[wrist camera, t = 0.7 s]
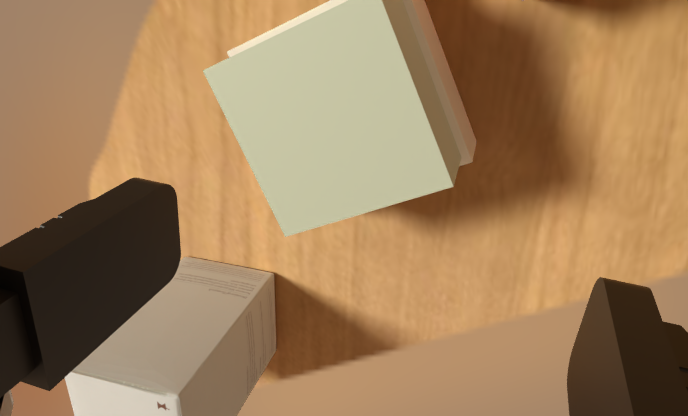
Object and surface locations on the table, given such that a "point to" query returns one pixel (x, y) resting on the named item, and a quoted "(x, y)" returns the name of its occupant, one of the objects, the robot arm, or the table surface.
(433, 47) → the tower base
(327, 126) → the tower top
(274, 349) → the supplement box
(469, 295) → the table surface
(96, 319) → the robot arm
